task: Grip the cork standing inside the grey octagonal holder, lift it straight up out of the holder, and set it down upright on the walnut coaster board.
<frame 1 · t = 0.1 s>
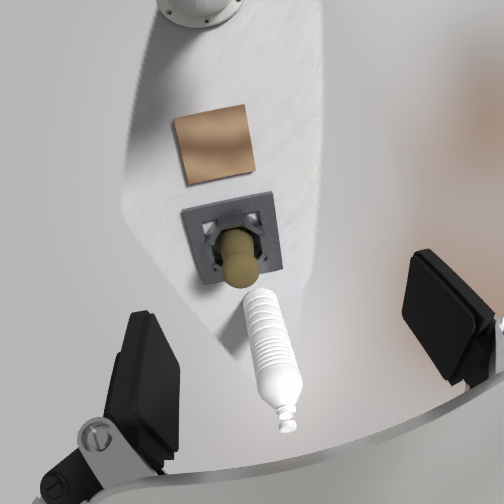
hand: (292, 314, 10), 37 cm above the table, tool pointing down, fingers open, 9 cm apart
coaster board: (215, 143, 42), on the table
grey octagonal holder: (235, 239, 50), on the table
water bottle: (260, 305, 58), on the table
cork: (235, 238, 50), resting in grey octagonal holder
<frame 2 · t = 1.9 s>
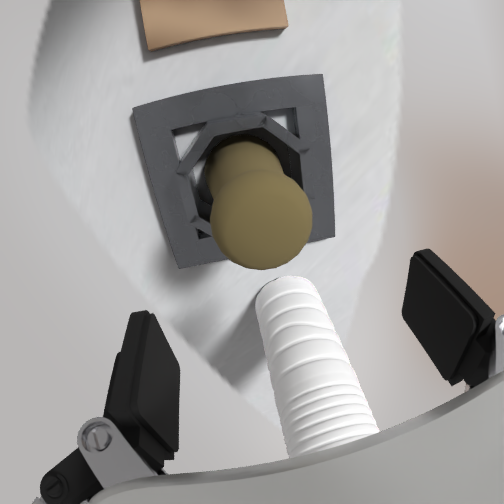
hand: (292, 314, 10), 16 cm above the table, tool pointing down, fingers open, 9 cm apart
grey octagonal holder: (242, 171, 23), on the table
water bottle: (286, 306, 31), on the table
cork: (242, 170, 23), resting in grey octagonal holder
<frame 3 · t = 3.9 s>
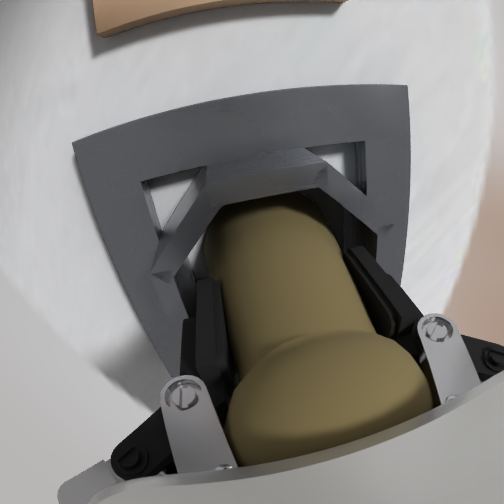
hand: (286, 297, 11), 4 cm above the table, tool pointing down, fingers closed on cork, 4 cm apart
grey octagonal holder: (268, 246, 14), on the table
cork: (267, 245, 15), resting in grey octagonal holder, touching gripper
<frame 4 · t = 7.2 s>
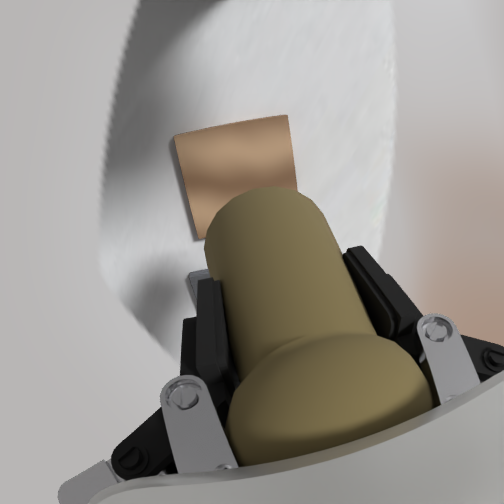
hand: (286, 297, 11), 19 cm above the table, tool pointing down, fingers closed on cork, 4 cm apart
coaster board: (239, 175, 27), on the table
cork: (267, 245, 15), point 15 cm above the table, touching gripper
when the fingers open (6 cm above the table, at t = 10.5 s): cork drops 1 cm, resting on coaster board.
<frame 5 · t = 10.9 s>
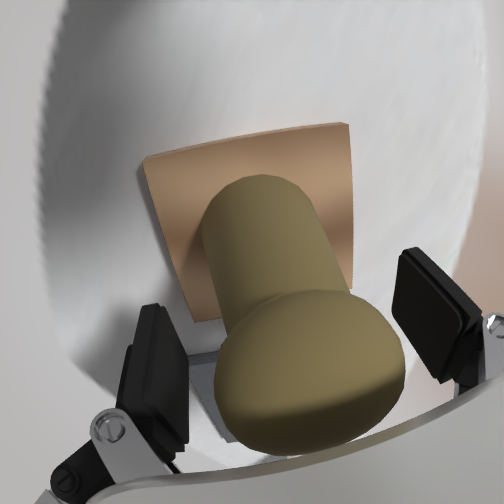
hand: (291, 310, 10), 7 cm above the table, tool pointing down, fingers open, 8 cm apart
coaster board: (260, 225, 16), on the table
grey octagonal holder: (286, 390, 25), on the table
cork: (259, 229, 16), point 1 cm above the table, touching coaster board
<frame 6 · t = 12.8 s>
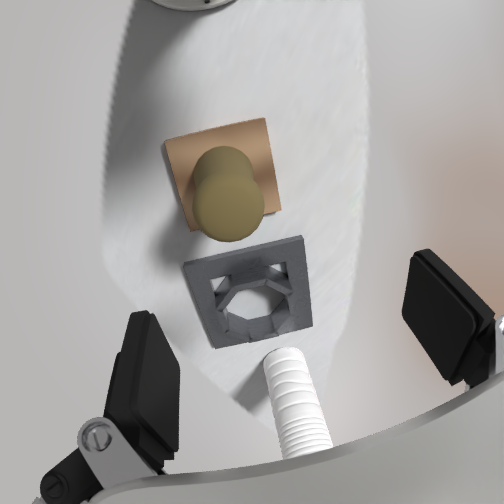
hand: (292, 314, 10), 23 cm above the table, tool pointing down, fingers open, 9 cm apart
coaster board: (224, 173, 31), on the table
grey octagonal holder: (253, 295, 38), on the table
water bottle: (283, 363, 46), on the table
cork: (223, 174, 30), point 1 cm above the table, touching coaster board
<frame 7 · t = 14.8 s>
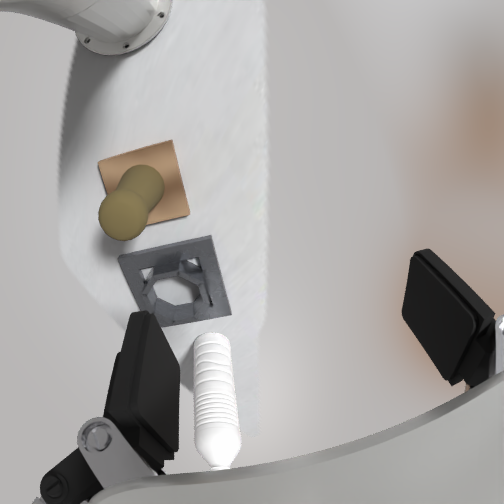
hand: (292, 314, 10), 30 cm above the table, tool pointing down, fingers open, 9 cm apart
coaster board: (144, 185, 37), on the table
grey octagonal holder: (177, 285, 45), on the table
water bottle: (213, 347, 53), on the table
cork: (142, 186, 36), point 1 cm above the table, touching coaster board
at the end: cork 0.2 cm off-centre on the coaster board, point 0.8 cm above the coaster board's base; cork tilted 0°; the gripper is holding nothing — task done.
